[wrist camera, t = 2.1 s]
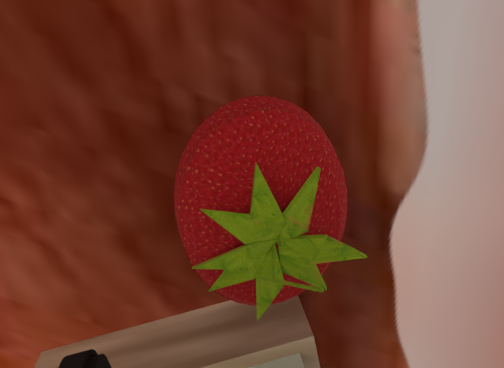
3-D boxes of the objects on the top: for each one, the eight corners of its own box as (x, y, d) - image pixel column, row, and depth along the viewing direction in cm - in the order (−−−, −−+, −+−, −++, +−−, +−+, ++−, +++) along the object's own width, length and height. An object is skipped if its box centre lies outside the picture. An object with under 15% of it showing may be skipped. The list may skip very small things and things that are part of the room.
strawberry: (304, 70, 18) (424, 124, 9) (302, 221, 21) (391, 382, 12) (169, 78, 17) (143, 145, 8) (187, 233, 20) (183, 413, 11)
